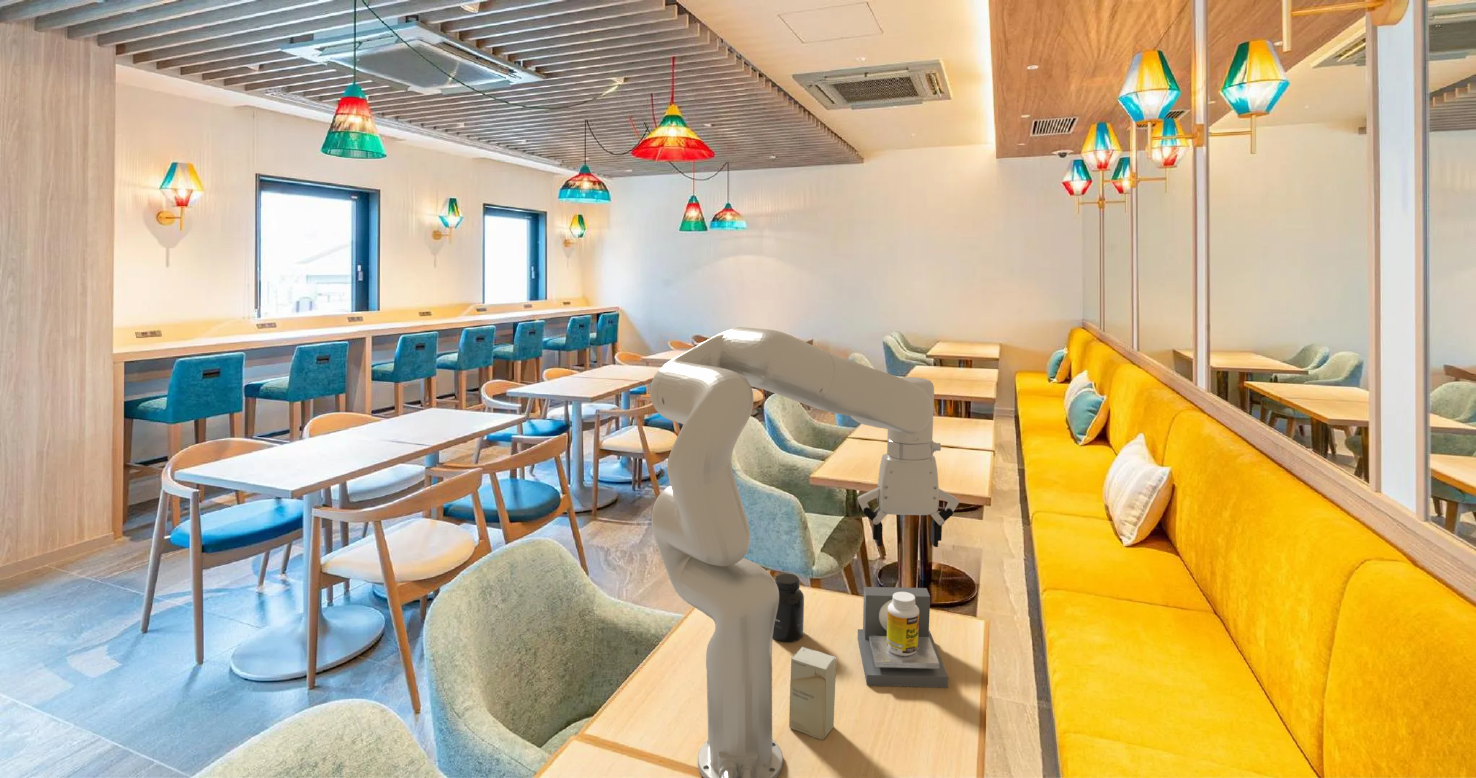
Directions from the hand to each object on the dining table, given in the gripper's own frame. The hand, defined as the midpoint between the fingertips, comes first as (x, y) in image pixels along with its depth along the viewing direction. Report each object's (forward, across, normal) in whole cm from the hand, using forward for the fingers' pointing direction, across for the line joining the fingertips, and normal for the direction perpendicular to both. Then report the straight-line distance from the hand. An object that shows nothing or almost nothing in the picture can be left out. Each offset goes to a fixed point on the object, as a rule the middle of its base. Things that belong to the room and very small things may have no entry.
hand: (906, 543), depth 126 cm
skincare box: (+24, +17, +17) cm, 34 cm away
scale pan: (+22, 0, 0) cm, 22 cm away
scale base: (+24, 0, -3) cm, 24 cm away
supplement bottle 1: (+24, +21, -12) cm, 34 cm away
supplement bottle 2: (+20, 0, 0) cm, 20 cm away
